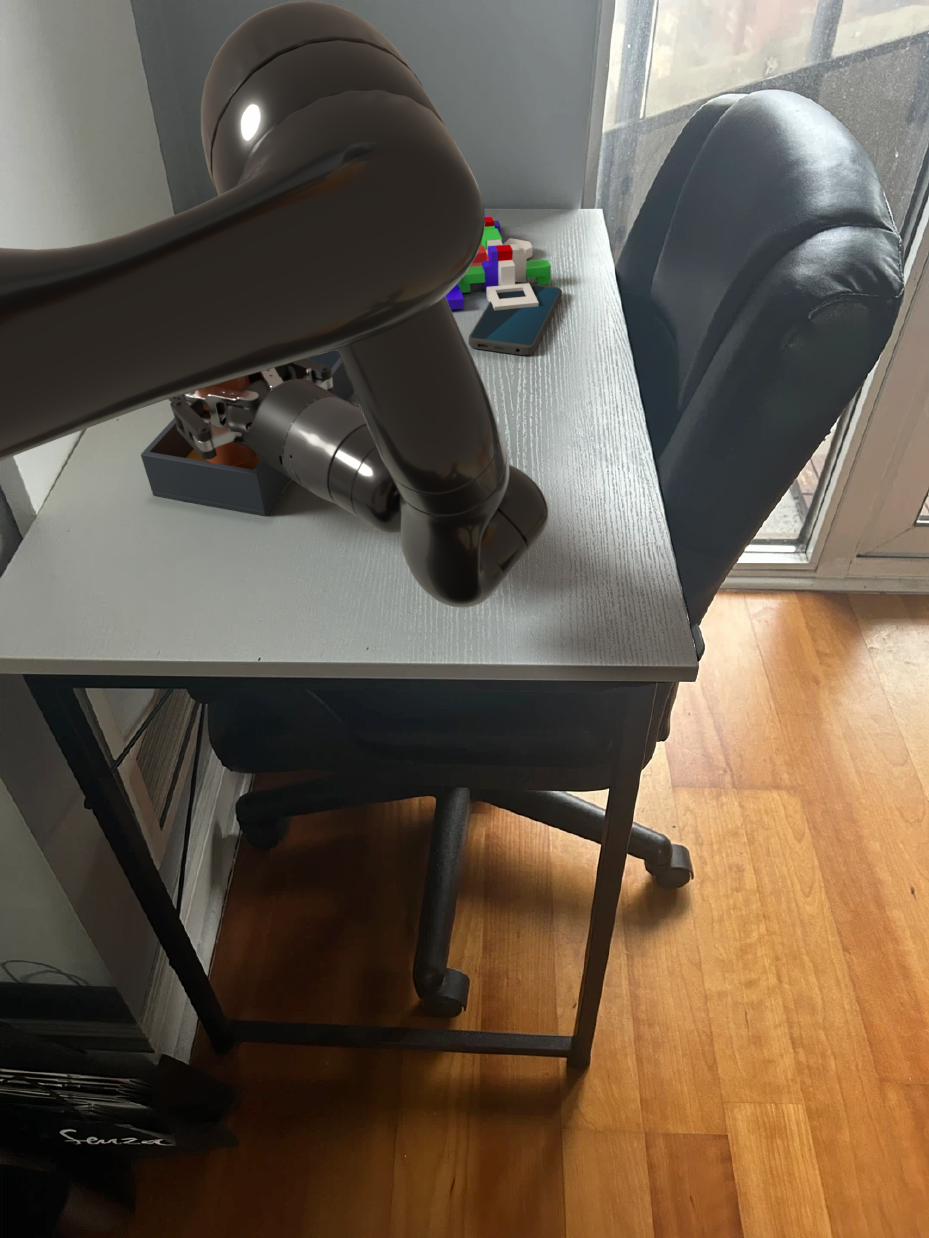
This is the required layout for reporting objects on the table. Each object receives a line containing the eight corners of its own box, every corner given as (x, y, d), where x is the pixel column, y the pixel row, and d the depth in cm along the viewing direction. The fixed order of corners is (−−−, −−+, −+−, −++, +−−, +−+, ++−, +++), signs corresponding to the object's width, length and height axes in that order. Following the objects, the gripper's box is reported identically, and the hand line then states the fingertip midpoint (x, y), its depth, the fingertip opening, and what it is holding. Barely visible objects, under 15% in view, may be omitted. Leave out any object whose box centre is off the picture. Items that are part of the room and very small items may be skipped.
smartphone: (465, 347, 103) (465, 339, 102) (502, 286, 113) (502, 279, 112) (532, 356, 101) (533, 348, 100) (564, 294, 111) (564, 286, 111)
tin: (246, 470, 84) (219, 346, 75) (191, 460, 85) (158, 338, 76) (273, 436, 87) (249, 315, 79) (219, 428, 88) (191, 307, 80)
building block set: (366, 238, 124) (363, 203, 121) (519, 225, 126) (520, 190, 123) (385, 326, 106) (382, 288, 103) (563, 309, 108) (565, 271, 105)
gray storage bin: (265, 516, 83) (257, 474, 80) (153, 495, 85) (140, 454, 82) (390, 340, 105) (387, 301, 101) (298, 327, 107) (292, 289, 104)
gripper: (387, 365, 75) (257, 300, 83) (241, 442, 68) (115, 363, 76) (394, 445, 80) (271, 376, 89) (259, 524, 73) (139, 441, 81)
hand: (200, 370), depth 82 cm, fingers closed on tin, 5 cm apart
